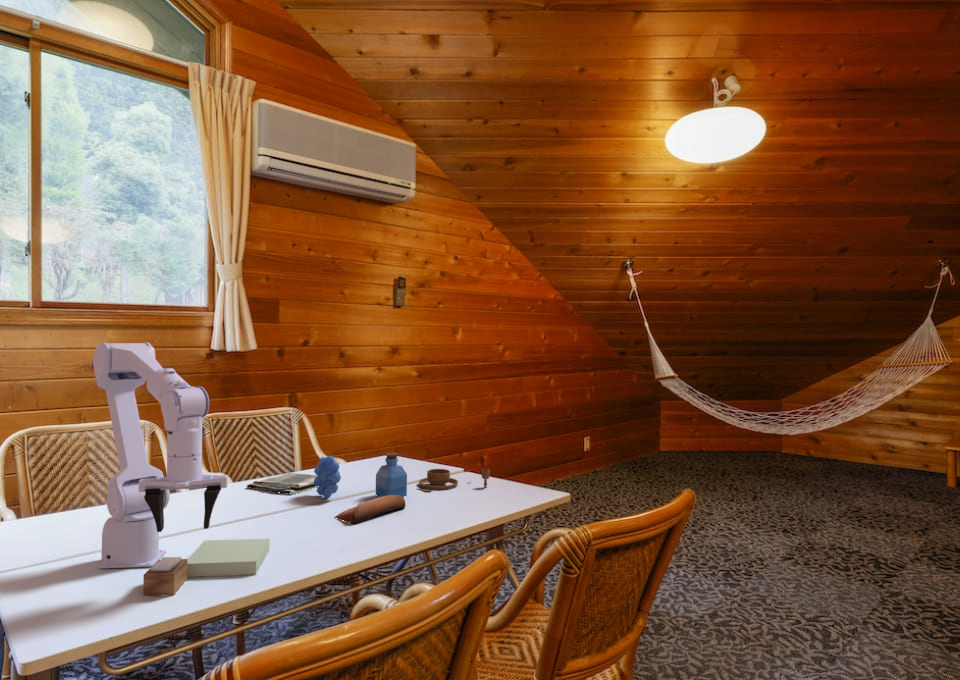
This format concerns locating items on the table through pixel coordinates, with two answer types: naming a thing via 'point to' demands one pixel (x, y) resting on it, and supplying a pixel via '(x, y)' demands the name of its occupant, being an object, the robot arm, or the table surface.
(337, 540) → the table surface
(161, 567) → the lid plate
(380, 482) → the perfume bottle
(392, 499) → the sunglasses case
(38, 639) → the table surface
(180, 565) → the brown box
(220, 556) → the stand
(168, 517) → the table surface
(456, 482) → the place setting
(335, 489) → the grapes
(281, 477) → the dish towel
